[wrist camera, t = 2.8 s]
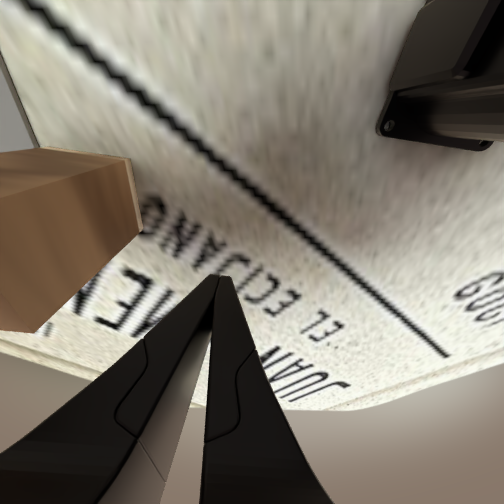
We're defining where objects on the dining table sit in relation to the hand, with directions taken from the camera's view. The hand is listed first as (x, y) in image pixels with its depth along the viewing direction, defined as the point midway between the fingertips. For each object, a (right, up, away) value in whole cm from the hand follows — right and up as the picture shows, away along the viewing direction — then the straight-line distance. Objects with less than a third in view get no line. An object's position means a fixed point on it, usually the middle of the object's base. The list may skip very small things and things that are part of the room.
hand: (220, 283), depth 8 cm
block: (-9, +5, +6) cm, 12 cm away
